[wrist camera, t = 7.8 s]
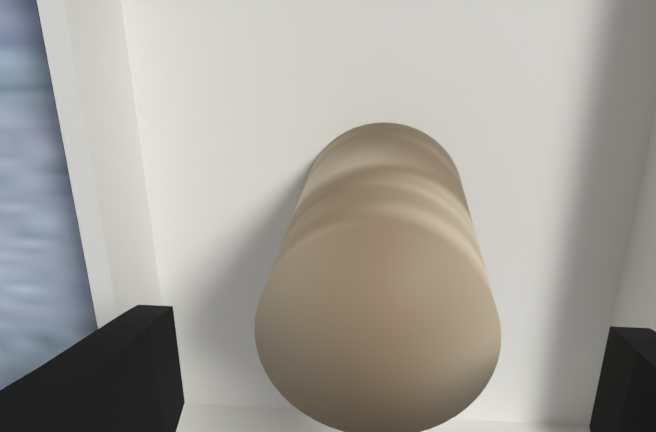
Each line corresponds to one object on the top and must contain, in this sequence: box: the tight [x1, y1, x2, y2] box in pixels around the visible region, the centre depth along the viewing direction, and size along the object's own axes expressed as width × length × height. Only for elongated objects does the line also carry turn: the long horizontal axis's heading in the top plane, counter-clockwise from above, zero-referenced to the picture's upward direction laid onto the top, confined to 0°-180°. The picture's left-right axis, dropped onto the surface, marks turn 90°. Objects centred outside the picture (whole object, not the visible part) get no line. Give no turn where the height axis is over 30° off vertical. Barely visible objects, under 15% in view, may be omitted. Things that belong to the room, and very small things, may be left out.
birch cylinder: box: [254, 122, 501, 432], centre depth 14 cm, size 4×4×7 cm
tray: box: [37, 0, 656, 432], centre depth 16 cm, size 15×17×4 cm
